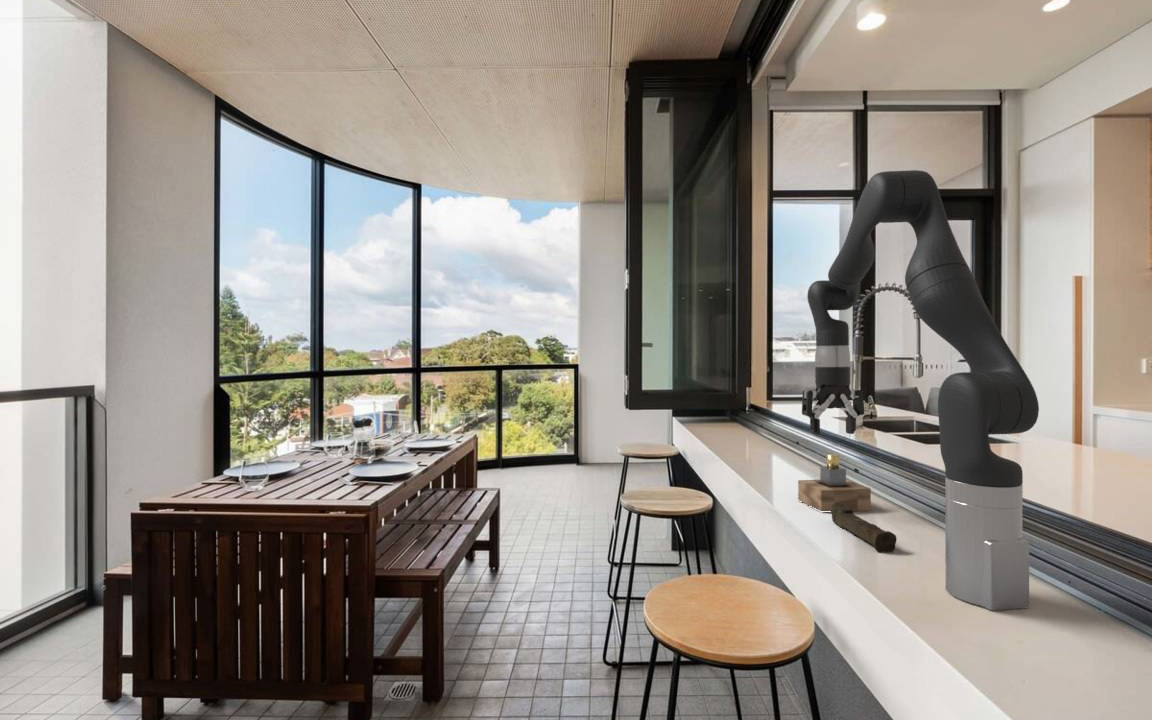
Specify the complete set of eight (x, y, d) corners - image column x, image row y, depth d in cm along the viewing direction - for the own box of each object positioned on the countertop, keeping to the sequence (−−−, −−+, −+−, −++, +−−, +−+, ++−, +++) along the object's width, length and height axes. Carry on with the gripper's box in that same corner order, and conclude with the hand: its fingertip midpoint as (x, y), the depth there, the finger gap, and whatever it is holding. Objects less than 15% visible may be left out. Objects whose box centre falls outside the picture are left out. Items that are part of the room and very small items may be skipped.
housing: (870, 510, 126) (870, 488, 126) (821, 512, 125) (821, 490, 125) (844, 498, 136) (844, 478, 136) (798, 500, 135) (798, 480, 135)
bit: (846, 507, 129) (845, 456, 128) (829, 508, 128) (829, 456, 128) (836, 503, 133) (836, 453, 132) (820, 503, 132) (820, 453, 132)
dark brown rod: (897, 554, 100) (898, 528, 100) (875, 554, 100) (876, 528, 100) (845, 522, 119) (845, 500, 119) (827, 522, 119) (827, 500, 119)
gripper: (812, 365, 126) (813, 437, 126) (870, 365, 127) (871, 435, 127) (795, 365, 133) (796, 432, 133) (851, 364, 135) (851, 431, 135)
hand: (833, 433), depth 130 cm, fingers open, 8 cm apart
